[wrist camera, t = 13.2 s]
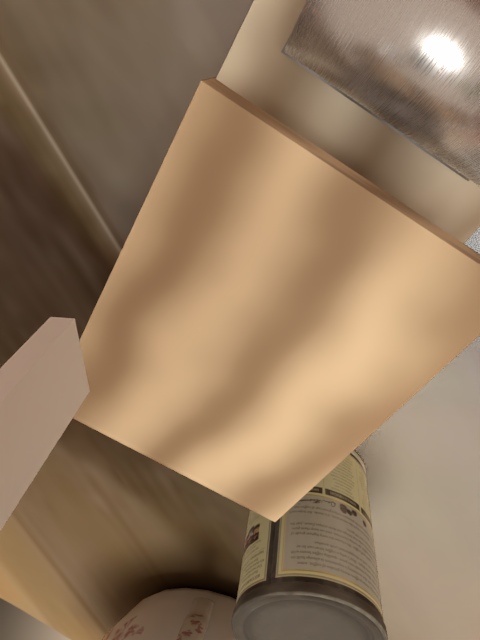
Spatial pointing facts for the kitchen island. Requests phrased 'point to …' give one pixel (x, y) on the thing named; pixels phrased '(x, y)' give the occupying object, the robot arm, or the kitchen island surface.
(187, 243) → the oak slab
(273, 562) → the coffee can
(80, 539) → the kitchen island surface
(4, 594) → the kitchen island surface
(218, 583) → the kitchen island surface
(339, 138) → the roller bed
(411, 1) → the loose roller
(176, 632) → the chamber pot
